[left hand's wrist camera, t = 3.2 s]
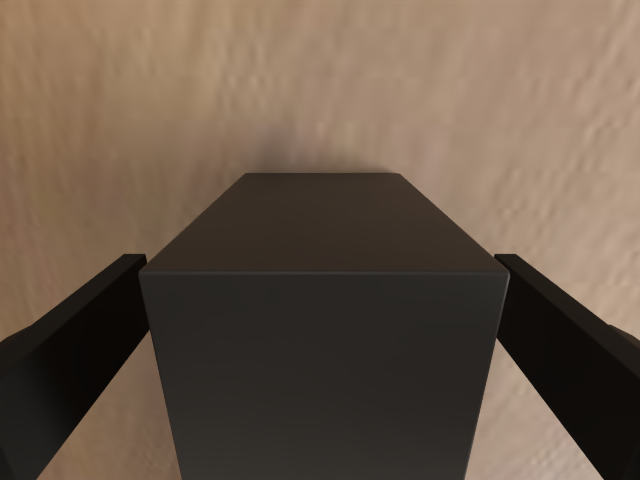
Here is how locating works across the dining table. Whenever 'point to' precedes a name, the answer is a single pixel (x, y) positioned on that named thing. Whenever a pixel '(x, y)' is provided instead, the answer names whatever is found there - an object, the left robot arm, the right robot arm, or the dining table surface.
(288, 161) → the dining table surface
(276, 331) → the box
